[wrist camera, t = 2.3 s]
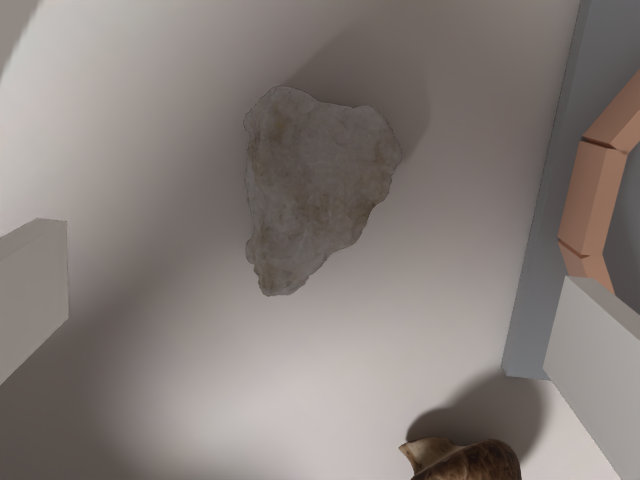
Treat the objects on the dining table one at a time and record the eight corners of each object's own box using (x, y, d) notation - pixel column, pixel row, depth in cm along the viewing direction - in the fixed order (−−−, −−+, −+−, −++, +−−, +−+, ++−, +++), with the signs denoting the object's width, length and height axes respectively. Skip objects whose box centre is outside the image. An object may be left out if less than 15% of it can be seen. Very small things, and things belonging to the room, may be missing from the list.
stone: (358, 284, 33) (364, 329, 28) (219, 250, 33) (197, 289, 27) (408, 113, 30) (426, 124, 25) (257, 74, 30) (241, 76, 24)
